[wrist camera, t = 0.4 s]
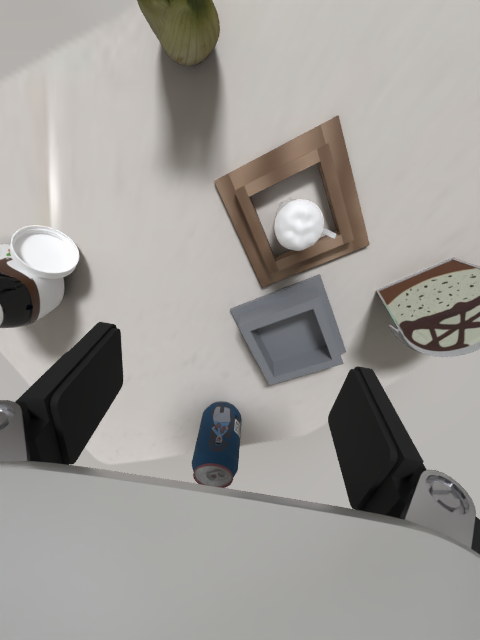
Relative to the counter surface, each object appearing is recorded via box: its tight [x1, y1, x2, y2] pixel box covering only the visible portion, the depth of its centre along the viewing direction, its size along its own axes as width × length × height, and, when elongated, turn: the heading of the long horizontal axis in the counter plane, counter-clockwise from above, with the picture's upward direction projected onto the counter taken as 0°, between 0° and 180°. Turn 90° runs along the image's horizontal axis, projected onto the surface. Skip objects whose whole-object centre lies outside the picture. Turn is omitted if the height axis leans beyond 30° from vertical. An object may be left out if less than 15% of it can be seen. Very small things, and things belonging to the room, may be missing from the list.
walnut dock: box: [214, 116, 369, 287], centre depth 32 cm, size 14×14×2 cm
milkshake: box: [274, 198, 337, 251], centre depth 28 cm, size 5×5×10 cm
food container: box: [376, 258, 480, 357], centre depth 32 cm, size 12×6×10 cm, turn 119°
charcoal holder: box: [230, 274, 346, 385], centre depth 39 cm, size 13×13×4 cm
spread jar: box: [0, 225, 79, 328], centre depth 33 cm, size 12×11×12 cm
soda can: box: [192, 402, 241, 488], centre depth 45 cm, size 7×7×12 cm
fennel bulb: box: [137, 0, 220, 66], centre depth 21 cm, size 6×5×12 cm
